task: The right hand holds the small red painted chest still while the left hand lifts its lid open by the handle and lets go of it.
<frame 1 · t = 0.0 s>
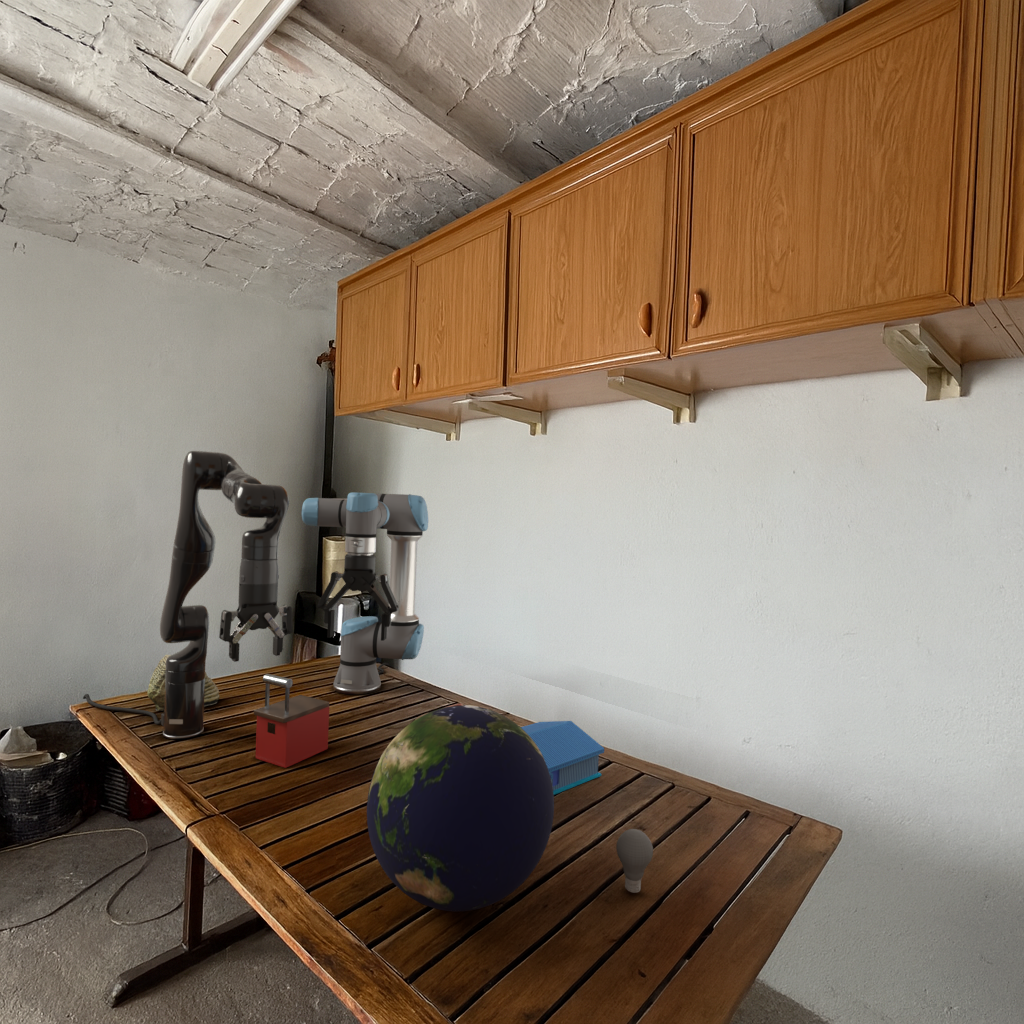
left hand: (256, 657, 132), 29 cm above the table, tool pointing down, fingers open, 8 cm apart
right hand: (356, 638, 159), 28 cm above the table, tool pointing down, fingers open, 13 cm apart
chest: (292, 753, 155), on the table
light bulb: (632, 891, 106), on the table
fossil: (183, 706, 185), on the table
anatomical model: (439, 720, 182), on the table
globe: (457, 895, 103), on the table
lid: (293, 691, 154), point 16 cm above the table, hinge at 0.0°
model building: (515, 784, 143), on the table
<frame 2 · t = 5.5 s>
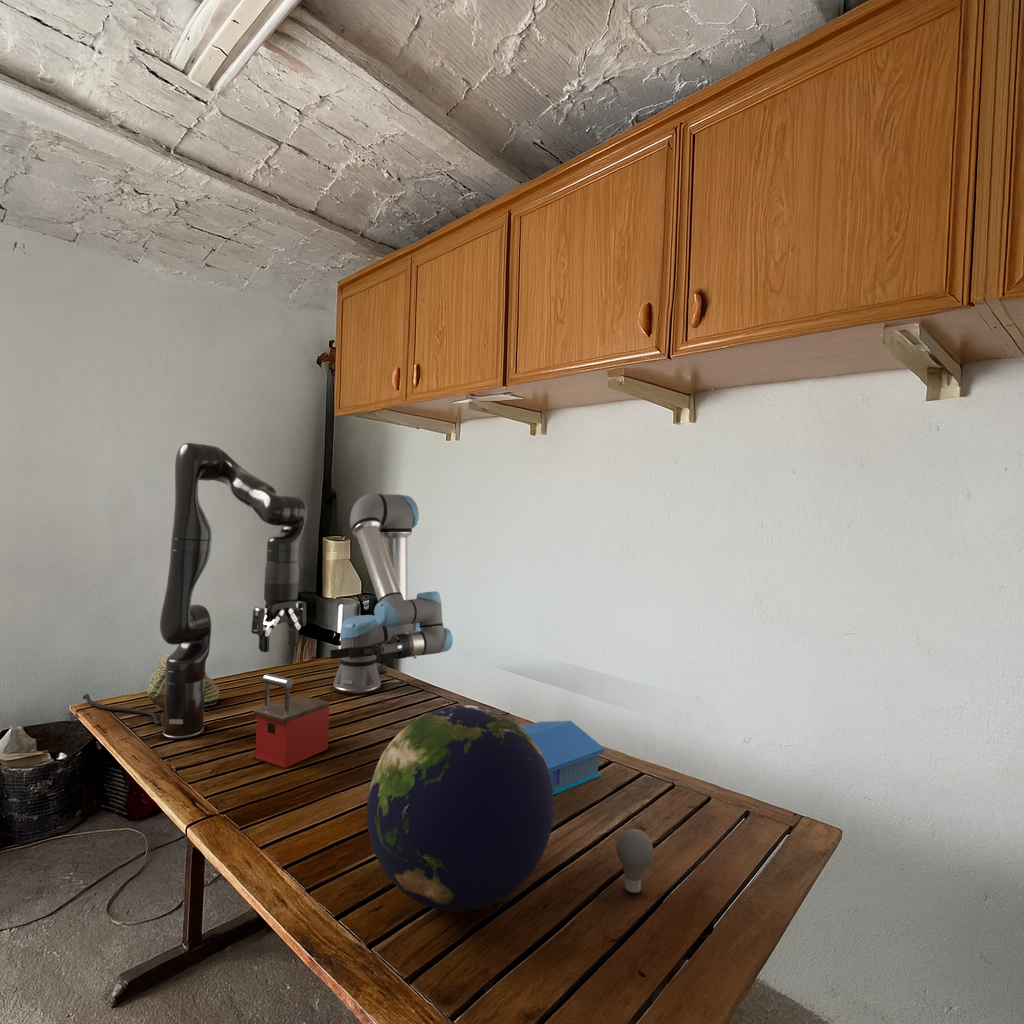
left hand: (279, 648, 150), 27 cm above the table, tool pointing down, fingers open, 8 cm apart
right hand: (340, 654, 181), 18 cm above the table, tool horizontal, fingers open, 13 cm apart
nothing on the table moved.
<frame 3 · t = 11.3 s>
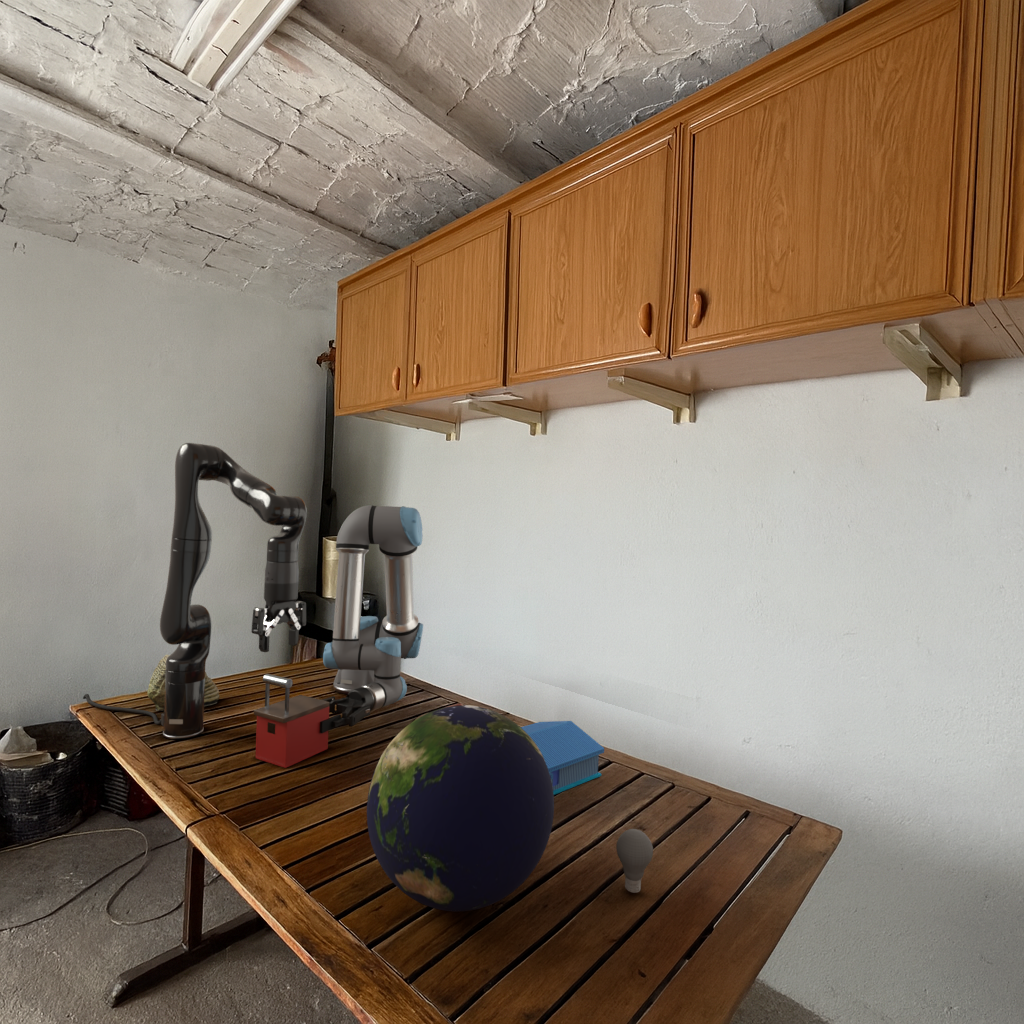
left hand: (279, 648, 150), 27 cm above the table, tool pointing down, fingers open, 8 cm apart
right hand: (305, 723, 158), 6 cm above the table, tool horizontal, fingers closed on chest, 10 cm apart
chest: (292, 753, 155), on the table, touching right hand
everything else where it was.
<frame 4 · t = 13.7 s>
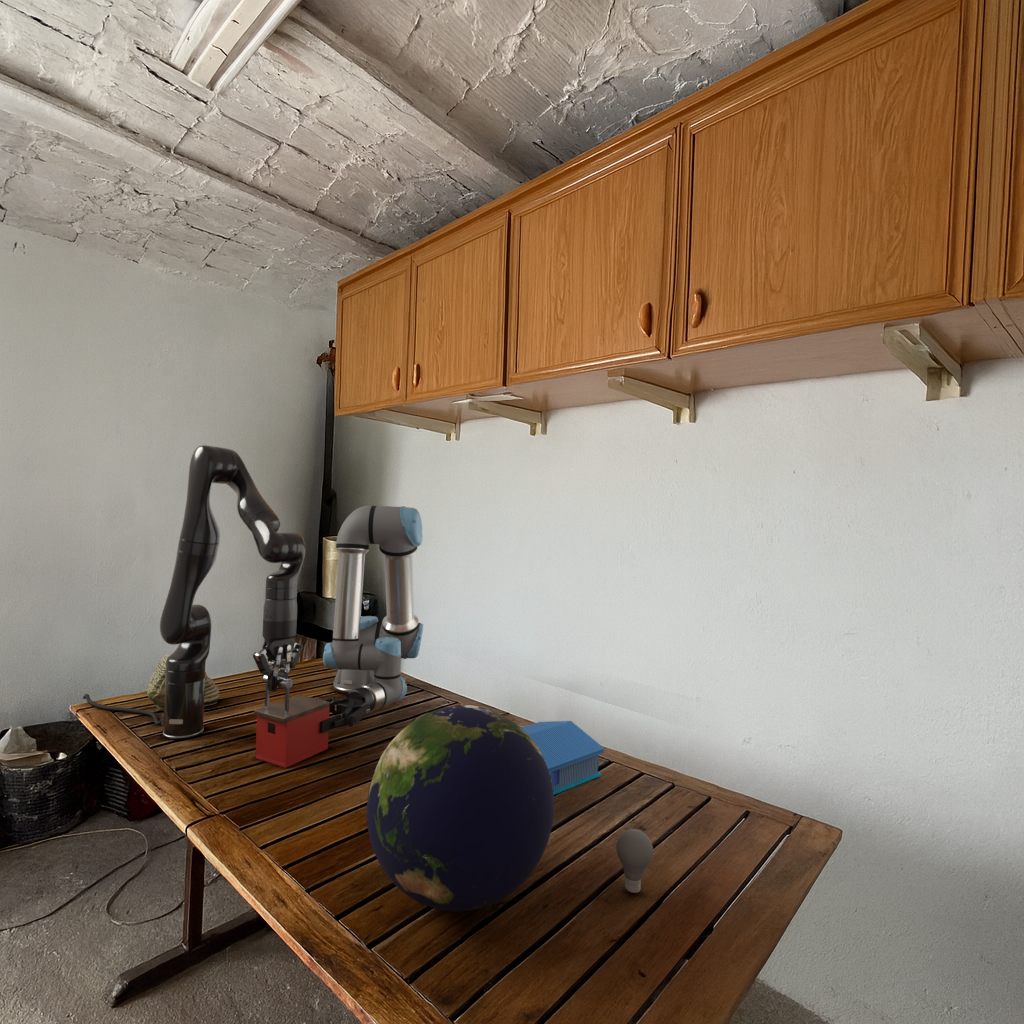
left hand: (277, 689, 150), 17 cm above the table, tool pointing down, fingers closed on lid, 2 cm apart
right hand: (305, 723, 158), 6 cm above the table, tool horizontal, fingers closed on chest, 10 cm apart
chest: (292, 753, 155), on the table, touching right hand
lid: (293, 691, 154), point 16 cm above the table, hinge at -0.1°, touching left hand
everything else where it was.
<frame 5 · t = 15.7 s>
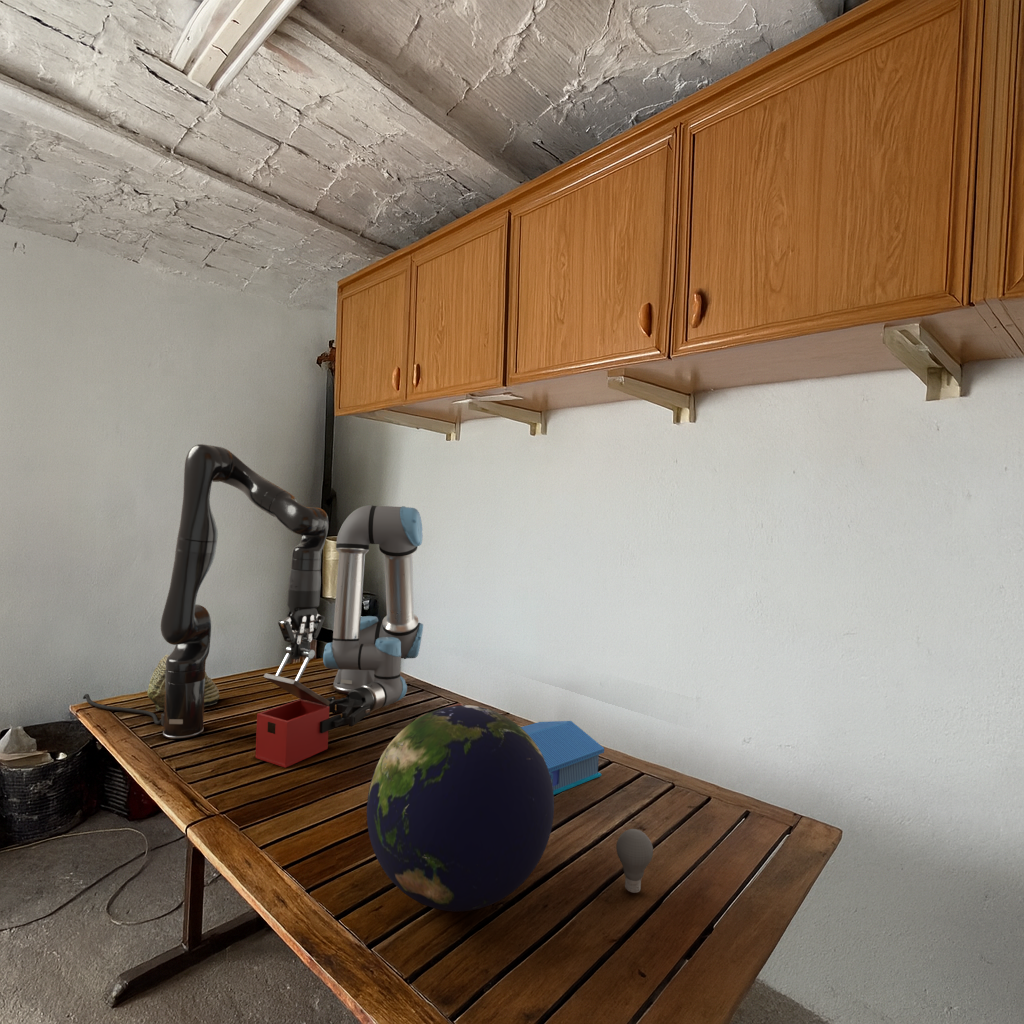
left hand: (299, 657, 156), 23 cm above the table, tool pointing down, fingers closed on lid, 2 cm apart
right hand: (305, 723, 159), 6 cm above the table, tool horizontal, fingers closed on chest, 10 cm apart
chest: (292, 753, 155), on the table, touching right hand
lid: (305, 673, 158), point 19 cm above the table, hinge at 34.8°, touching left hand
everything else where it was.
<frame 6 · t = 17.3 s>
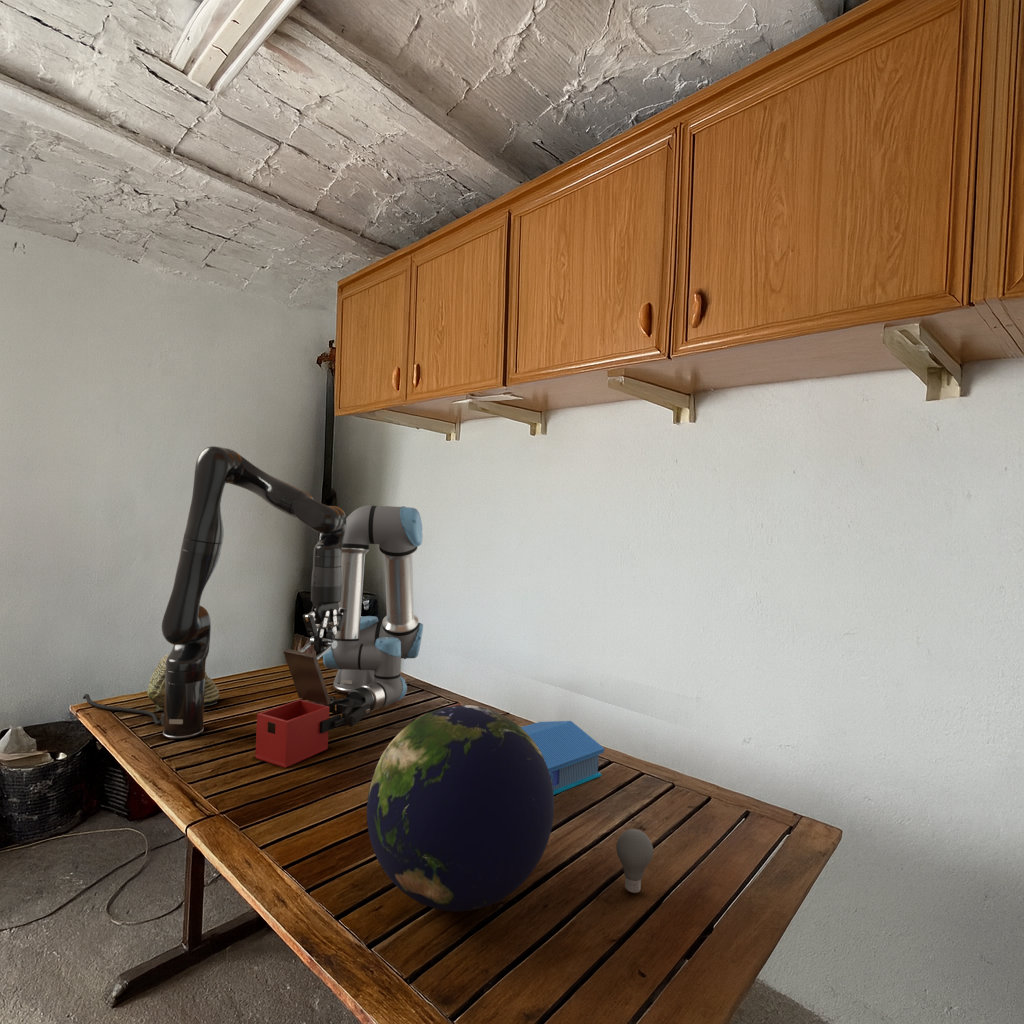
left hand: (324, 649, 163), 24 cm above the table, tool pointing down, fingers open, 3 cm apart
right hand: (305, 723, 158), 6 cm above the table, tool horizontal, fingers closed on chest, 10 cm apart
chest: (292, 753, 155), on the table, touching right hand
lid: (318, 666, 162), point 20 cm above the table, hinge at 66.0°
everything else where it was.
when the right hand's fingers open (6 cm above the table, at t = 21.2 s): chest stays where it is, on the table.
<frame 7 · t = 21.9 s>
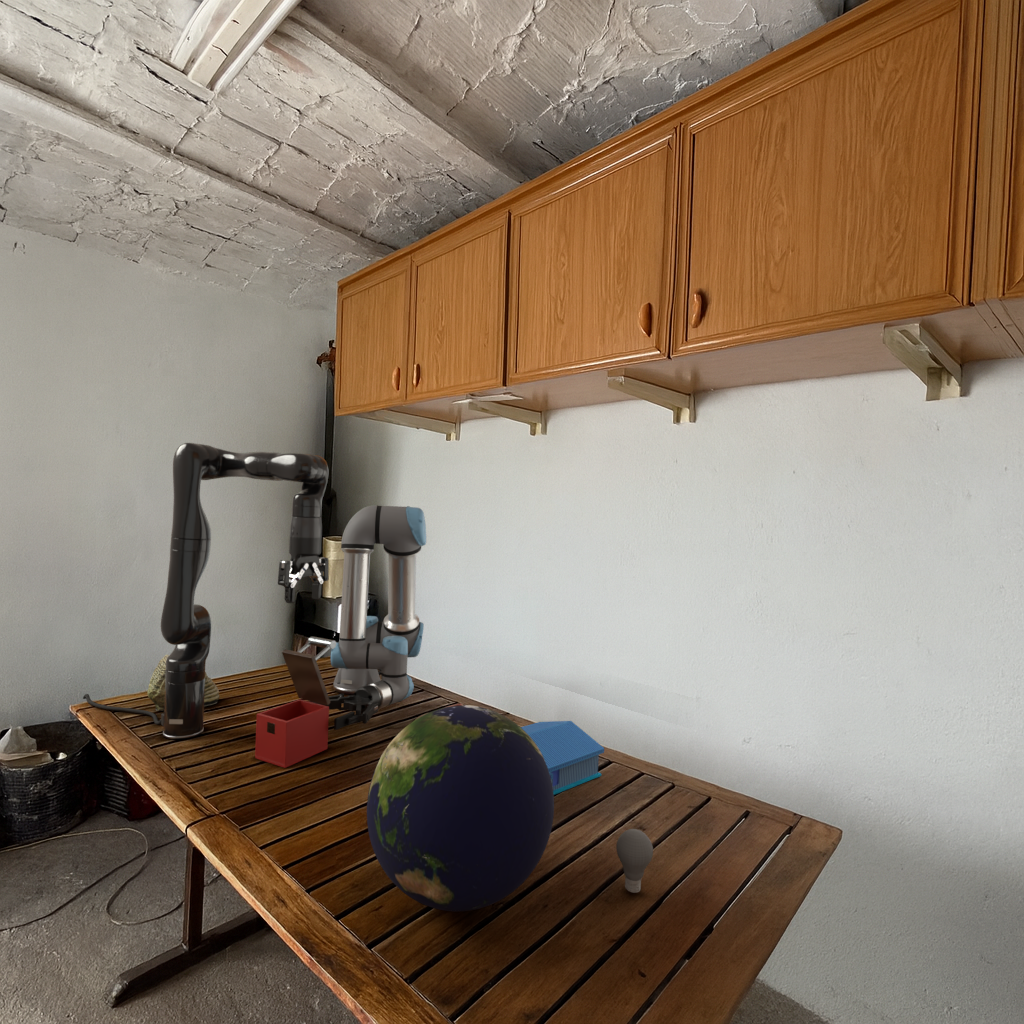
left hand: (303, 600, 156), 37 cm above the table, tool pointing down, fingers open, 8 cm apart
right hand: (315, 718, 162), 6 cm above the table, tool horizontal, fingers open, 13 cm apart
chest: (292, 753, 155), on the table
lid: (317, 667, 161), point 20 cm above the table, hinge at 64.9°
everything else where it was.
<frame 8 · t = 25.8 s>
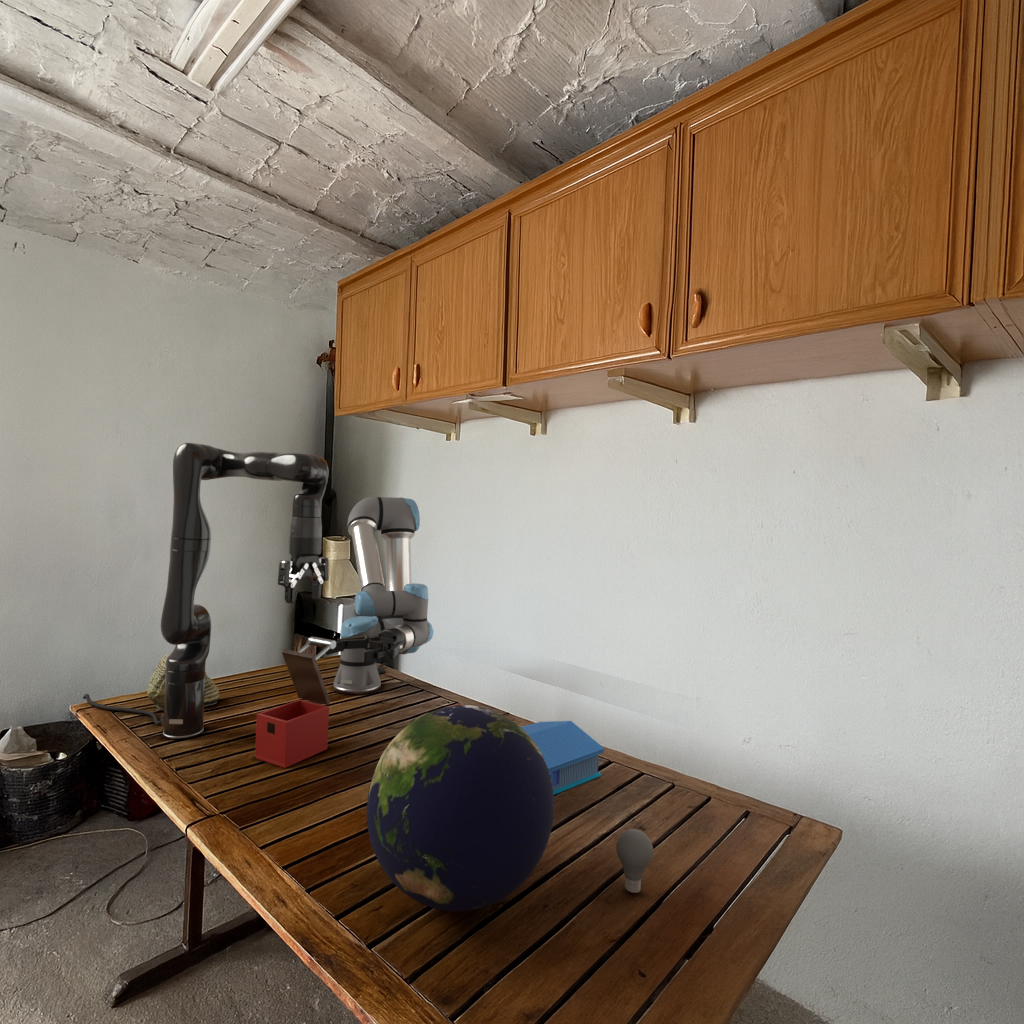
left hand: (303, 600, 156), 37 cm above the table, tool pointing down, fingers open, 8 cm apart
right hand: (345, 653, 170), 21 cm above the table, tool horizontal, fingers open, 13 cm apart
nothing on the table moved.
at the end: lid at +65° (first picture: +0°); the left hand is holding nothing; the right hand is holding nothing; chest tilted 0°; chest never tilted more than 1° during the clip; chest moved 0.1 cm from its start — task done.
